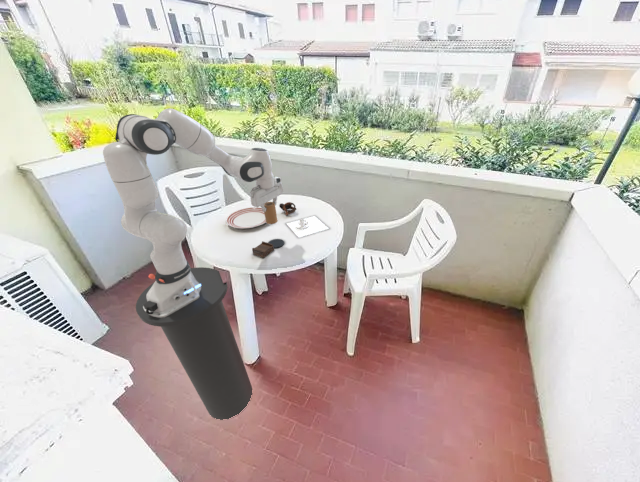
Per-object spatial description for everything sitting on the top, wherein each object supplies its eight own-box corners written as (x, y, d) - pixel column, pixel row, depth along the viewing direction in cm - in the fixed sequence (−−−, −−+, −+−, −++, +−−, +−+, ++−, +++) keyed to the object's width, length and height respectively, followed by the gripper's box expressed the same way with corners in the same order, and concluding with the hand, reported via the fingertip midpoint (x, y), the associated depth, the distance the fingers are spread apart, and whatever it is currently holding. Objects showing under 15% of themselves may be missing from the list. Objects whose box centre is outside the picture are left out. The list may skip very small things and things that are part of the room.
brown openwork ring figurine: (298, 210, 194) (298, 202, 187) (293, 220, 190) (293, 214, 182) (281, 204, 194) (280, 197, 186) (276, 215, 189) (275, 208, 182)
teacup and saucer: (306, 221, 179) (306, 215, 177) (312, 226, 174) (311, 220, 171) (293, 224, 175) (293, 219, 173) (298, 230, 170) (298, 224, 168)
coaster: (277, 249, 152) (277, 249, 152) (264, 245, 155) (264, 245, 155) (287, 242, 159) (287, 241, 159) (274, 238, 162) (274, 237, 162)
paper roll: (263, 222, 148) (272, 225, 146) (260, 205, 142) (269, 207, 140) (271, 218, 152) (279, 220, 150) (267, 200, 147) (277, 202, 145)
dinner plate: (257, 234, 165) (256, 229, 163) (217, 228, 171) (216, 223, 169) (279, 214, 187) (279, 209, 185) (243, 209, 193) (242, 204, 191)
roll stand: (263, 258, 146) (262, 252, 144) (253, 254, 148) (251, 248, 146) (274, 250, 152) (273, 244, 150) (264, 246, 155) (262, 240, 152)
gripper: (255, 190, 128) (260, 217, 136) (283, 177, 143) (286, 202, 151) (244, 188, 130) (250, 215, 138) (273, 175, 146) (277, 199, 153)
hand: (269, 208), depth 145 cm, fingers closed on paper roll, 6 cm apart
